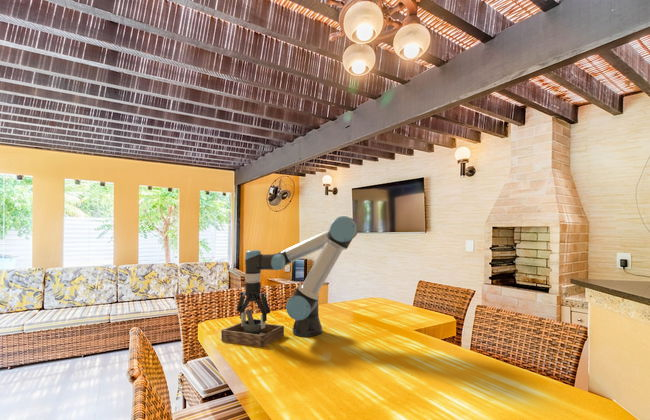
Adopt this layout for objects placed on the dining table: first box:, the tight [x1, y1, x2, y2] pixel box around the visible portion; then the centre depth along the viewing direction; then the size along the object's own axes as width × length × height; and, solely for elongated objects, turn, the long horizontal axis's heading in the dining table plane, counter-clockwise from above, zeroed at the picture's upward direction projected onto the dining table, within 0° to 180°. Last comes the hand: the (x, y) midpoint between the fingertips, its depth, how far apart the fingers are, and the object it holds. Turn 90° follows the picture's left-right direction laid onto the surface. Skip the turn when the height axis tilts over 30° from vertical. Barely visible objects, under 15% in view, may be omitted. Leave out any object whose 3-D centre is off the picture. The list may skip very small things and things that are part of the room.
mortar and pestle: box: [243, 309, 262, 335], centre depth 172 cm, size 11×9×12 cm
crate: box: [220, 322, 285, 348], centre depth 172 cm, size 24×18×5 cm
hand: (253, 326), depth 172 cm, fingers open, 11 cm apart
